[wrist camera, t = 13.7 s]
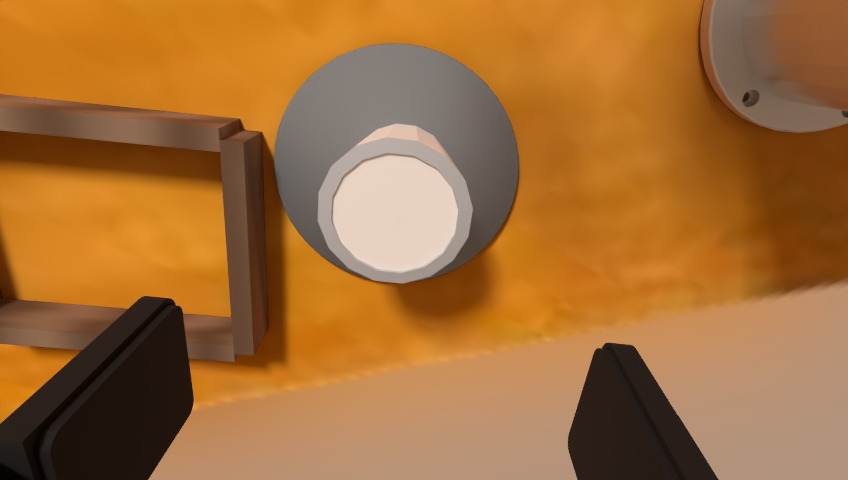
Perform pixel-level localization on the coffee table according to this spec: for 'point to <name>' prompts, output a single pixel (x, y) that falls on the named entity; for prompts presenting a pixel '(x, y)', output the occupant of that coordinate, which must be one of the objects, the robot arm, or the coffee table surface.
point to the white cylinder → (395, 206)
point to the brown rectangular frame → (241, 214)
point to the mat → (397, 104)
